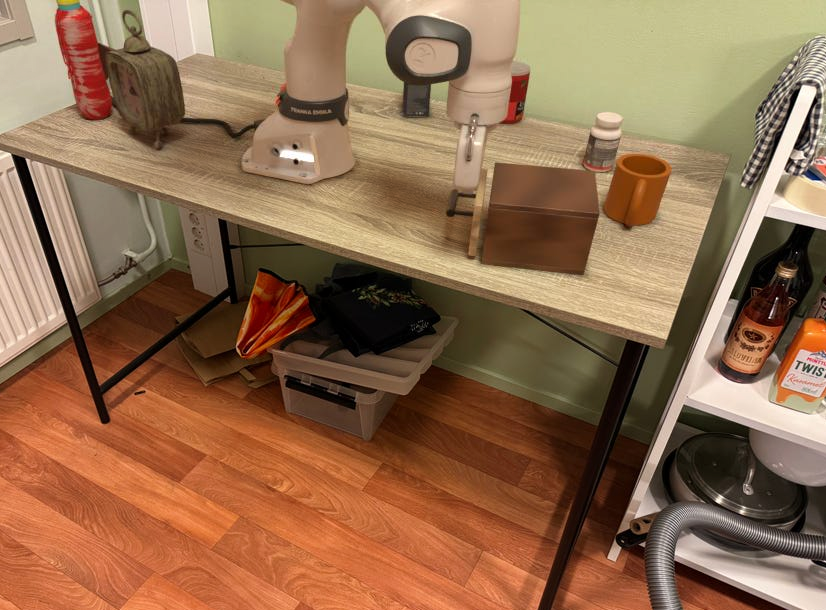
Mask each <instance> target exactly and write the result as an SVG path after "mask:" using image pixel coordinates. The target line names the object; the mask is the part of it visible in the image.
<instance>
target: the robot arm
mask: <svg viewBox="0 0 826 610" xmlns="http://www.w3.org/2000/svg"><path fill="white" fill-rule="evenodd" d="M280 1H281V2H283V3H286V4H289V5H291V6H294V7H295V11H296V18H295V19H296V20H295V25H294V26H295V27H294V31H293V34H292V37H291V38H289V39H288V40H287V42H286V43H285V45H284V49H283V58H284V73H285V83H283V84H282V86H281V87H280V89H279V92H278V93H277V95H276V99H275V101H274V102H275V107H276V108H277V110H275V111H274V112H273V113H272V114H271V115H269V116H268V117H266V118H263V119H258V120H253V122H252V123H251V124H248V125H246V126H244V127H243V128H242V129H240V130H239V131H238V132H234V131H233V128H232V127H231V125H230V124H229V123H228V122H227V121H225V120H222V119H217V118H201V117H200V118H198V117H197V118H196V117H183V118H182V120H181V121H180V122H179V123H188V124H189V123H192V124H215V125H220V126H223V127H225V129H226V130H227V132H228V134H229V135H230V136H231V137H232V138H240V137H242V136H243V135H245V134H246V133H247V132H248V131H250V130H254V131H253V132H254V134H253V136H252V141H251V145H250V146H249V147H248V148H247V150H246V151H245V152H244V153H243V155H242V158H241V169H242V171H243V172H246V173H250V174H255V175H259V176H264V177H268V178H269V177H270V178H274V179H280V180H284V181H291V182H293V183H300V184H304V185H305V184H306V185H312V184H315V183H318V182H319V181H320V182H321V181H322V180H325V179H331V178H335V177H339V176H341V175H343V174H345V173H347V172H349V171H350V170H352V169H353V168H354V166H355V165H356V157H355V155H354V152H353V147H352V143H351V137H350V131H349V120H350V98H349V89H348V88H347V47H348V42H349V36H350V32H351V29H352V27H353V23H354V21H355V19H356V18H357V17H358V16H359V15H360V14H361V13H362V12H363V11H364V9H366V7H367V8H368V9H369V10H371V11H372V13H373V14H374V15H375V16H376V18H377V19H378V21H379V23H380V25H381V29H382V30H383V34H384V38H385V39H384V48H385V59H386V62H387V66H388V68H389V70H390V71H391V73H392V74H393V76H394V77H396V78H397V79H398V80H400V81H401V82H403V83H404V82H405V83H407V84H410V85H417V86H419V85H429V84H431V85H434V84H435V85H436V84H442V83H446V82H448V88H447V100H446V109H445V110H446V112H445V114H446V115H447V117H448V118H449V119H450V120H452V121H453V126H454V127H455V129H457V130H458V131H460V132H459V135H458V140H457V144H456V152H455V161H454V171H453V179H452V185H453V189H457V190H458V191H461V192H462V193H463V194H472V193H473V194H474V192H477V189H478V186H479V181H480V176H481V170H482V168H483V163H484V159H485V153H486V147H487V140H488V137H489V133H491V132H493V131H494V130H496V129H497V127H498V124H500V123H499V122H502V121H503V120H504V119H505V118H506V117H507V112H508V105H509V99H510V92H511V85H512V76H511V65H512V61H514V58H515V56H516V53H517V50H518V49H517V48H518V42H519V35H520V24H521V23H520V22H521V0H280ZM111 99H112V106H113V107H115V108H116V109H117V107H116V104H115V101H114V97H113V95H111Z"/></svg>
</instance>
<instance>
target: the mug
mask: <svg viewBox="0 0 826 610" xmlns="http://www.w3.org/2000/svg"><path fill="white" fill-rule="evenodd" d="M672 169H673V168H672V166H671V165H670V163H668V162H667V161H665V160H664V159H662V158H660V157H658V156H654V155H651V154H644V153H627V154H624V155H620V156H619V157H618V158H617V160H616V163H615V167H614V170H613V173H612V177H611V180H610V184H609V187H608V191H607V195H606V197H605V203H604V205H603V212H604V214H605V215H606V216H607V217H609V218H610V219H612V220H614V221H615V222H618V223H621V224H625V226H626V227H630V228H631V227H632V226H643V225H648V224H650V223H652V222H653V221H654V220H656V218H657V214H658V212H659V208H660V205H661V203H662V200H663V197H664V194H665V191H666V187H667V186H668V182H669V180H670V176H671V174H672Z"/></svg>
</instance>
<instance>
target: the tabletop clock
mask: <svg viewBox="0 0 826 610" xmlns="http://www.w3.org/2000/svg"><path fill="white" fill-rule="evenodd" d="M127 14H128V15H129V16H132V17H133V18H134V19H135V21H136V22H137V24H138V26H139V27H138V28H139V30H138V31H137V27H136V26H135V25H132V26H129V25H128V24H127V22H126V15H127ZM121 17H122V18H121V19H122V23H123V25H124V27H125V28H126V30H127V31H128V32H129V33H130V34H131V35H130V36H128V37H126V38H125V40H124V41H123V47H122V48H119V49H115V50H114V51H110V52H106V53H105V61H106V68H107V72H108V77H109V78H108V81H109V86H110V89H111V93H112V97H113V99H114V101H115V104H116V107H117V108H116V107H115V108H116V109H117V112H118V115H119V116H120V117H121V118H122V120H124V121H125V122H126V123H127V124H128V125H130V126H129V127H128V132H129V133H130V134H136V133H137V131H140V132H143V133H144V134H145V133H150V132H153V131H154V133H155V141H154V143H153V147H154V148H155V149H157V150H161V149H162V148H163V144H162V142H161V141H160V134H161V135H162V136H167V135H168V134H169V129H168V128H167V127H168V126H171V125H172V126H173V125H175V124H178V123H181V122H180V121H181V120H182V118H185V116H186V104H185V98H184V91H183V86H182V80H181V75H180V69H179V67H178V64H177V61H176V59H175V58H174V57H173V56H172V55H170V54H169V53H167V52H165V51H163V50H162V49H158V48H157V47H153V46H151V45H150V42H149V41H148V40H147V38H145V36H143V35H142V33H143V26H142V22H141V20H140V18H139V16H138V15H137V14H136V13H135V12H133V11H132V10H130V9H124V10H123V11H122V14H121Z"/></svg>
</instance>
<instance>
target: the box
mask: <svg viewBox="0 0 826 610" xmlns="http://www.w3.org/2000/svg"><path fill="white" fill-rule="evenodd" d="M402 89H403V90H402V109H403V116H404V117H405V118H429V116H430V104H431V91H432V84H429V85H419V86H417V85H410V84H407V83H405V82H403V88H402Z"/></svg>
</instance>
